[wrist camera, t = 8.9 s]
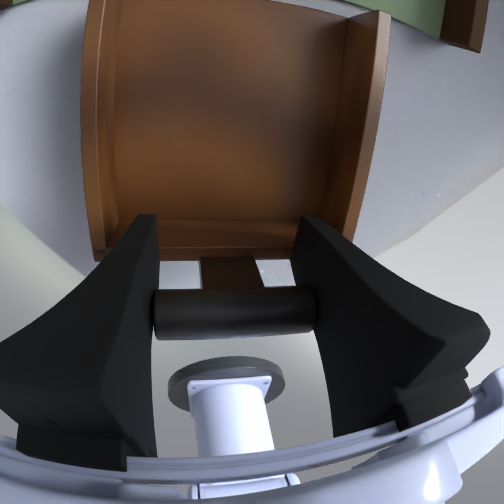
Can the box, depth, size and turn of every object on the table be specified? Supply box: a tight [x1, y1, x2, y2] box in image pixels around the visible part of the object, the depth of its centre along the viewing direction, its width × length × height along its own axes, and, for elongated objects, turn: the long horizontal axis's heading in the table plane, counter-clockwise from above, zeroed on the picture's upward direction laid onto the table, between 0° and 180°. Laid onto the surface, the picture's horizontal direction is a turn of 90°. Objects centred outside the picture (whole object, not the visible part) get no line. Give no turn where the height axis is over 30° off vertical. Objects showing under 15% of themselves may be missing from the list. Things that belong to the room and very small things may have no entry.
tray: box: [80, 0, 392, 340], centre depth 9 cm, size 11×10×6 cm
